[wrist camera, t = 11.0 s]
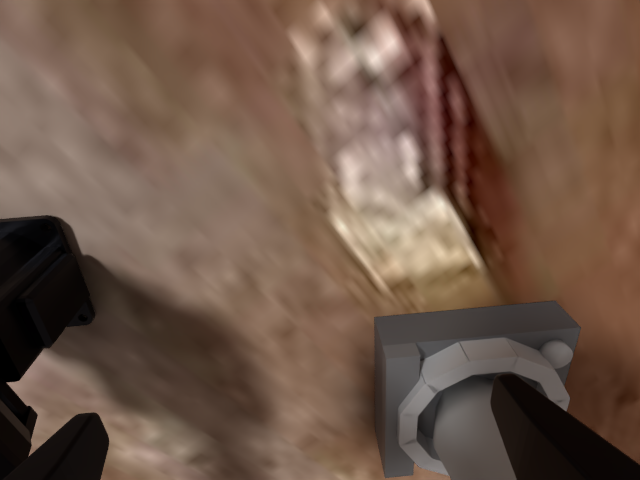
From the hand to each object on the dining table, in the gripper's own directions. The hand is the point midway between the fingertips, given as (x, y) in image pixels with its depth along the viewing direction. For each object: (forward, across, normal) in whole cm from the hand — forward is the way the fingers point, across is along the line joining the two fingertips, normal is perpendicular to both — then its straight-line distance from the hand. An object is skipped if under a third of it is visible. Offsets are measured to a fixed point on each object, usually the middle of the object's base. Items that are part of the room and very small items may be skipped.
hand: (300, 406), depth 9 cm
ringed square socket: (+13, -10, +13) cm, 21 cm away
